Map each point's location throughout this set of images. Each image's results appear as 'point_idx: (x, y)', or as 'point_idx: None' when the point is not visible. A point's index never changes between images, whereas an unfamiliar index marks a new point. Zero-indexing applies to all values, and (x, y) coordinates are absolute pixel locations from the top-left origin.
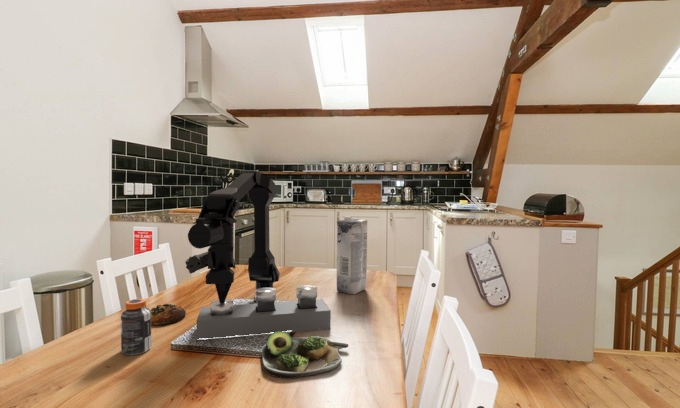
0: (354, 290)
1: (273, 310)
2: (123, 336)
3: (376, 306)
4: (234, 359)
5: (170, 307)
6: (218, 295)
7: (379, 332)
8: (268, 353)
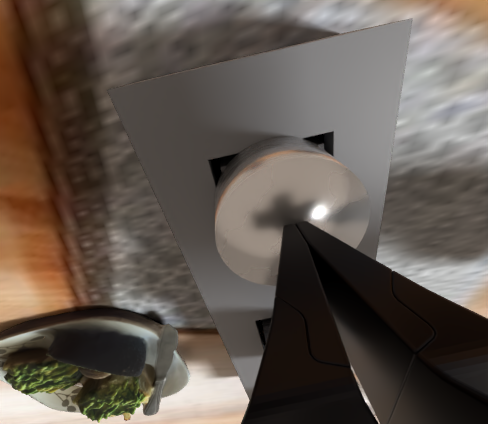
0: None
1: None
2: None
3: None
4: (39, 258)
5: None
6: (278, 268)
7: (236, 416)
8: (54, 341)
